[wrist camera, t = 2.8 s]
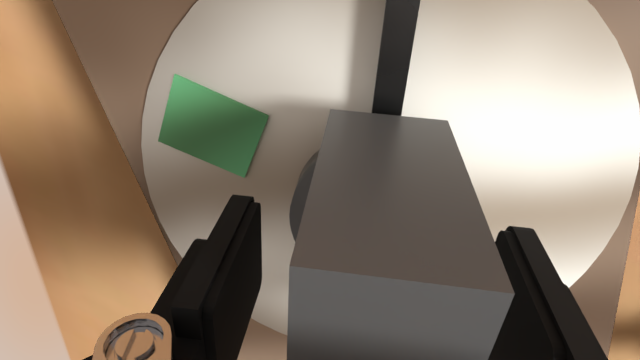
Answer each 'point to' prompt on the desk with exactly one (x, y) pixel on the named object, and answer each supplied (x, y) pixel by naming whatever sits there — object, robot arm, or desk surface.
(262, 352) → the board
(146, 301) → the desk surface
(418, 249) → the dark grey boxy piece
